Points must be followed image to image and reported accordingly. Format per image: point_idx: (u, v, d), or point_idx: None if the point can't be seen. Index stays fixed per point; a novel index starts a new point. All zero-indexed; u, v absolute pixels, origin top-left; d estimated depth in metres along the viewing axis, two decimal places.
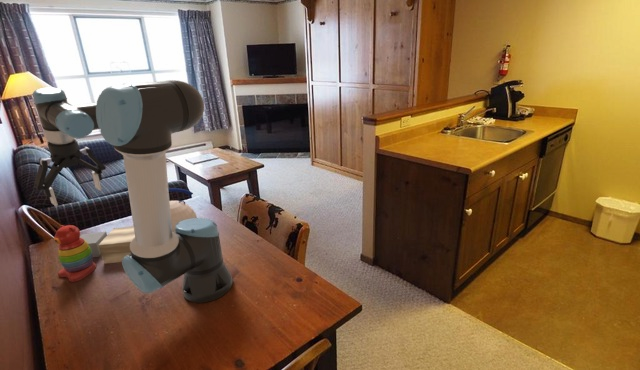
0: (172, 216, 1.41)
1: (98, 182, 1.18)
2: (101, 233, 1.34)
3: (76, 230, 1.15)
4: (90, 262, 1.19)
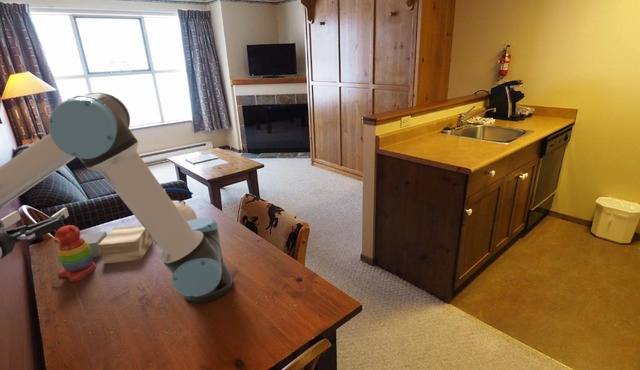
0: None
1: (9, 215, 0.99)
2: (101, 233, 1.34)
3: (76, 230, 1.15)
4: (90, 262, 1.19)
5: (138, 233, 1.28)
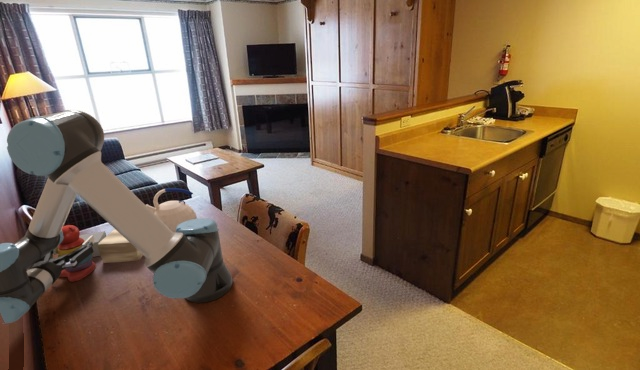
0: (172, 216, 1.41)
1: None
2: (100, 233, 1.34)
3: (76, 230, 1.15)
4: (90, 262, 1.19)
5: None
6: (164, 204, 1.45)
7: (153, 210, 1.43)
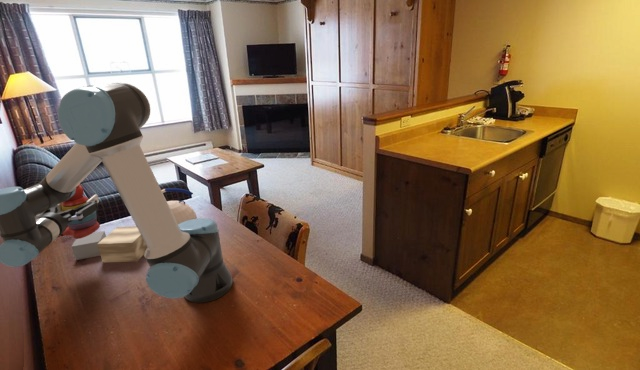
0: None
1: None
2: (100, 233, 1.35)
3: (80, 187, 1.14)
4: (94, 220, 1.18)
5: (137, 234, 1.28)
6: None
7: None
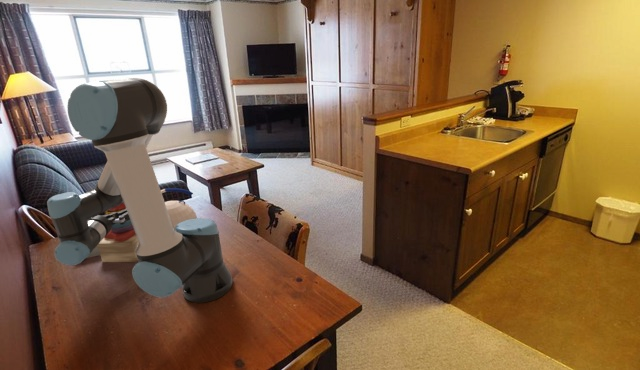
0: (172, 216, 1.41)
1: None
2: None
3: None
4: None
5: None
6: None
7: None
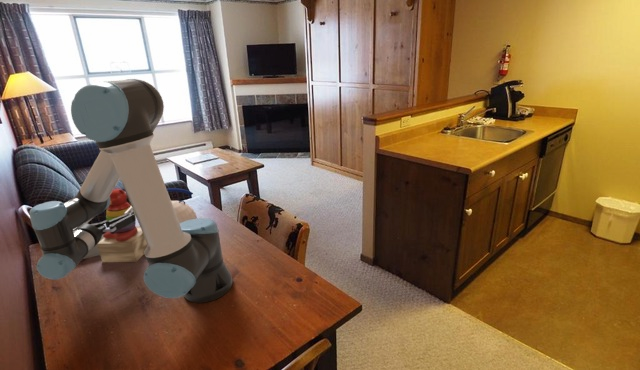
0: None
1: None
2: None
3: (125, 193, 1.24)
4: (134, 224, 1.28)
5: (136, 234, 1.27)
6: None
7: None
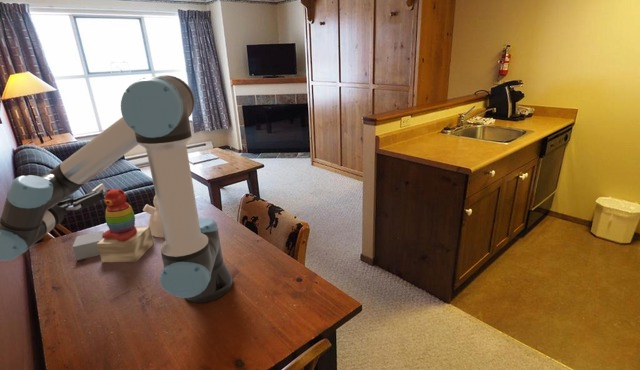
0: None
1: None
2: (99, 232, 1.35)
3: (124, 193, 1.24)
4: (134, 224, 1.28)
5: (136, 234, 1.27)
6: None
7: (153, 210, 1.43)
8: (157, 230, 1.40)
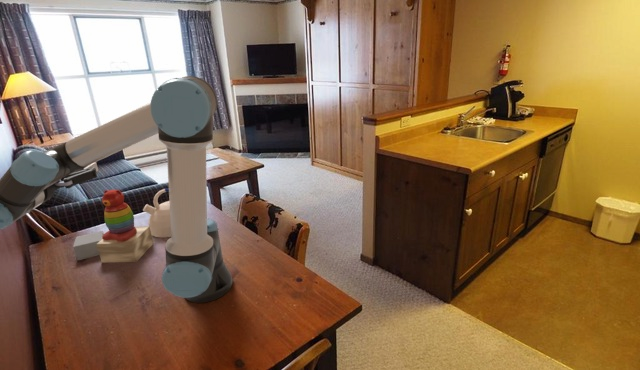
0: None
1: None
2: (99, 232, 1.35)
3: (122, 193, 1.24)
4: (133, 224, 1.28)
5: (136, 235, 1.27)
6: (164, 204, 1.45)
7: (153, 210, 1.43)
8: (157, 230, 1.40)
